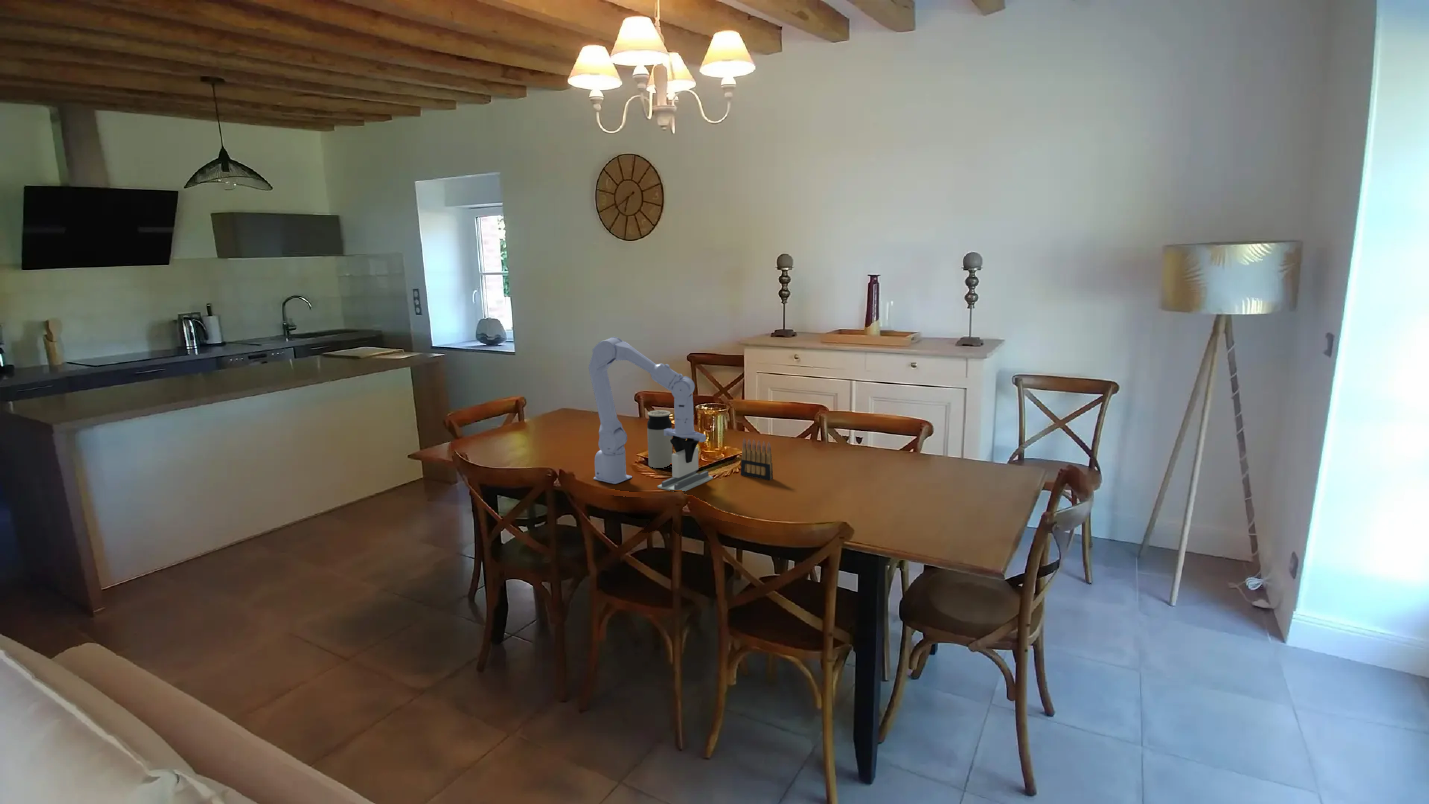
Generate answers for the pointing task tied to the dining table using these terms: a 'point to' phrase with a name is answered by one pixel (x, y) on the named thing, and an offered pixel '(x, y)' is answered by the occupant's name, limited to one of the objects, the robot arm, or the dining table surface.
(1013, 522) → the dining table surface
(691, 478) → the track
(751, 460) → the ammunition clip
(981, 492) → the dining table surface
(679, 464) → the door panel
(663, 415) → the travel mug
